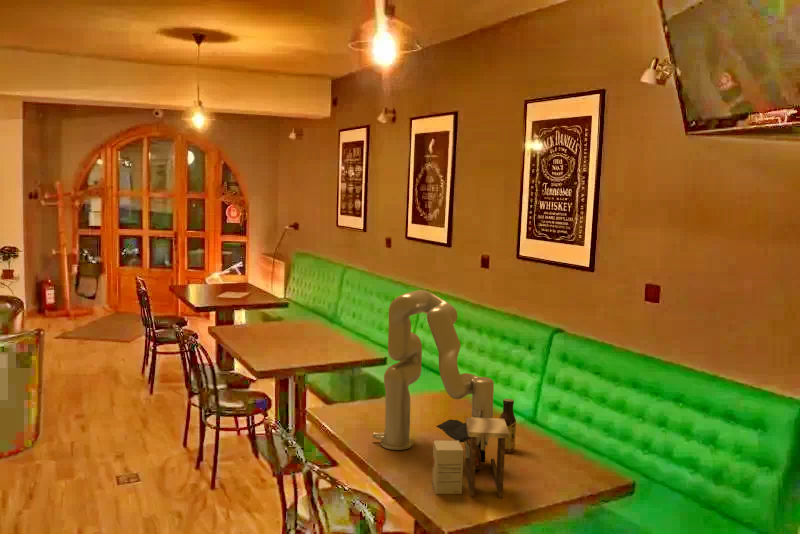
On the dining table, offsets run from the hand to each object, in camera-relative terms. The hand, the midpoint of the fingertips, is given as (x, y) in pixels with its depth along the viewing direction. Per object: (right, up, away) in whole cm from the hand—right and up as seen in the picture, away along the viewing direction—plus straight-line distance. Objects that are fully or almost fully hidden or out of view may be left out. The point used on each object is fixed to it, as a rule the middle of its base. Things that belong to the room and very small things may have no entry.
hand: (480, 461), depth 248 cm
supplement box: (-14, -3, -21) cm, 25 cm away
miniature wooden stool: (-1, -3, -13) cm, 14 cm away
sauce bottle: (+12, 0, +15) cm, 19 cm away
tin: (-3, -1, -1) cm, 4 cm away
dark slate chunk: (-4, +1, +32) cm, 32 cm away
